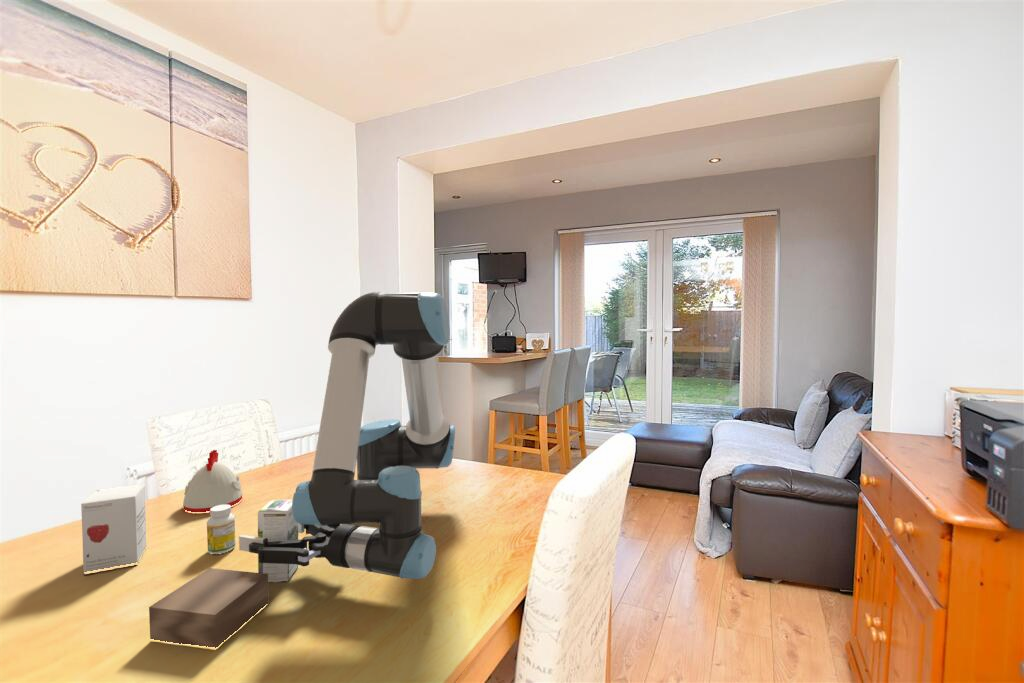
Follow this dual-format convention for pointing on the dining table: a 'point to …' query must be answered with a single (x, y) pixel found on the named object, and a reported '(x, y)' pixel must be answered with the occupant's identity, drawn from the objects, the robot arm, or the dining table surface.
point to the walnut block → (208, 607)
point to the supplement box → (113, 527)
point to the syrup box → (277, 536)
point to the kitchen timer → (212, 487)
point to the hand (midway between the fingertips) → (260, 532)
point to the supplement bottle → (221, 529)
